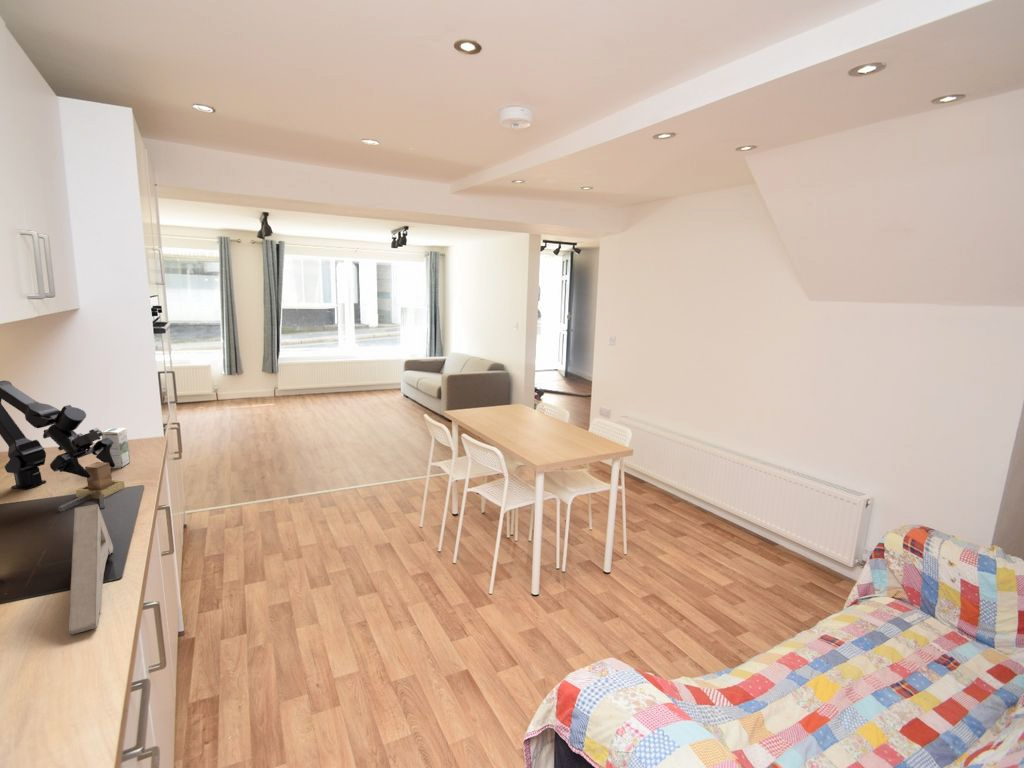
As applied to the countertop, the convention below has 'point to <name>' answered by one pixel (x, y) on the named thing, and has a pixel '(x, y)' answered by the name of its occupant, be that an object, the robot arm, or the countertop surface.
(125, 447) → the syrup box
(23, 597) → the countertop surface
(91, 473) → the brown wooden block
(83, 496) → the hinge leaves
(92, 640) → the countertop surface
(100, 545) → the wall bracket
